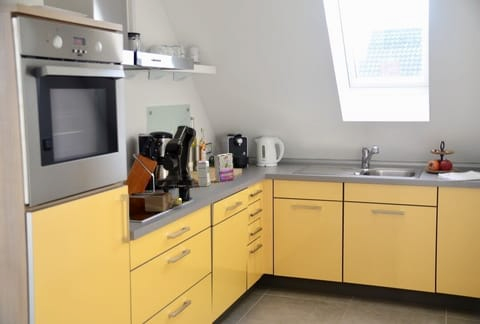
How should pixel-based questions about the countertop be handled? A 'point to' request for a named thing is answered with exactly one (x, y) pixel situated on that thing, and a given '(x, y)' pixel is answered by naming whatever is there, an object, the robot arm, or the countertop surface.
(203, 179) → the syrup box
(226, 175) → the candy bar box
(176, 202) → the token
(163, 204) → the money box
